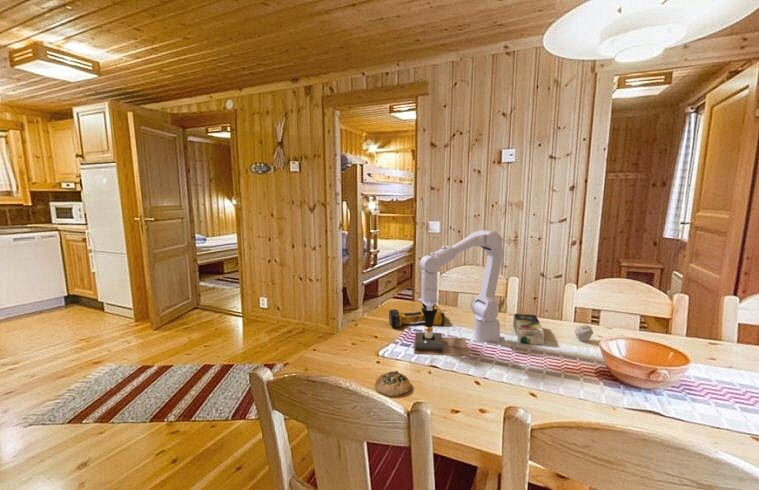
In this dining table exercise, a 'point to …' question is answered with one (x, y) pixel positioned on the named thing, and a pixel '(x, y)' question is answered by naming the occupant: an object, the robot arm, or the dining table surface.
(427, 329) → the metal peg
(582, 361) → the dining table surface
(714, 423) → the dining table surface
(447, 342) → the walnut board
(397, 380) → the bread roll
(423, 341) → the socket block
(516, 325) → the juice carton
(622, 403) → the dining table surface
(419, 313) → the power drill
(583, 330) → the grey rock
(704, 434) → the dining table surface
